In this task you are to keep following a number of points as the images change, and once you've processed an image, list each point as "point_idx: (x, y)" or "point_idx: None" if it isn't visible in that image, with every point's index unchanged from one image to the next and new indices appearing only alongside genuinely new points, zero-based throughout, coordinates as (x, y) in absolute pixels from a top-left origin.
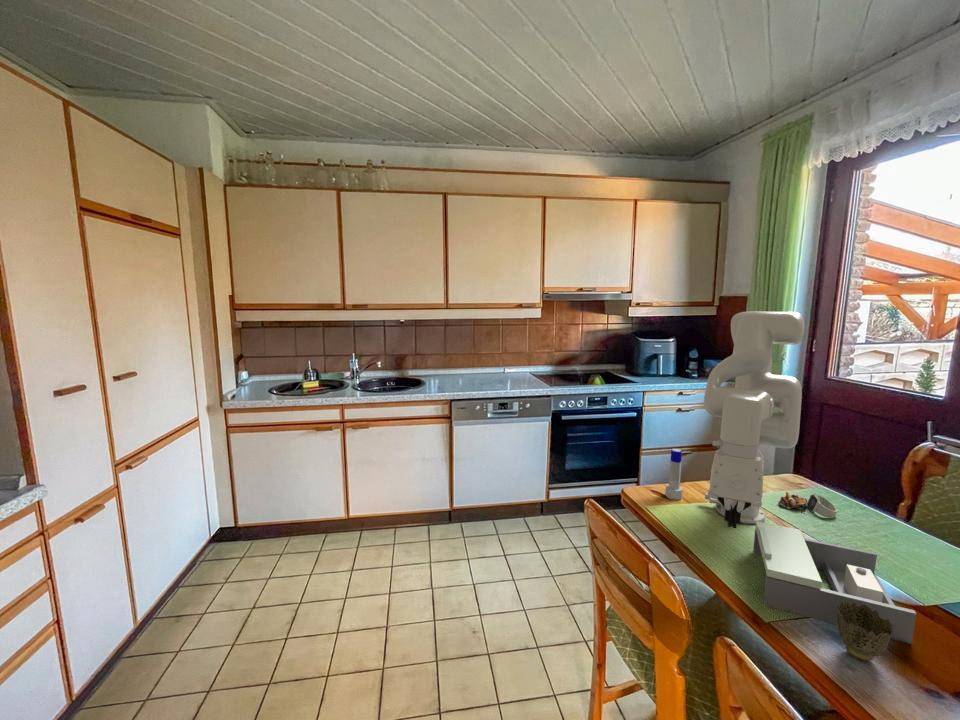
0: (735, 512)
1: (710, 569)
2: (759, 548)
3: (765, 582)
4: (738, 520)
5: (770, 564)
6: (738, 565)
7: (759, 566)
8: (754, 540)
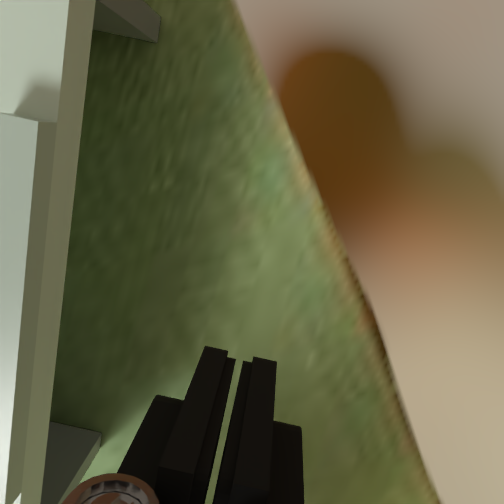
0: (188, 467)
1: (342, 257)
2: (65, 449)
3: (120, 9)
4: (162, 417)
5: (38, 18)
6: (195, 323)
7: (100, 336)
8: (72, 486)
